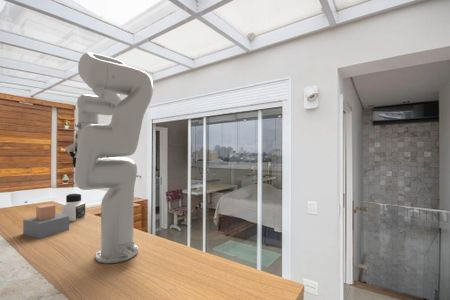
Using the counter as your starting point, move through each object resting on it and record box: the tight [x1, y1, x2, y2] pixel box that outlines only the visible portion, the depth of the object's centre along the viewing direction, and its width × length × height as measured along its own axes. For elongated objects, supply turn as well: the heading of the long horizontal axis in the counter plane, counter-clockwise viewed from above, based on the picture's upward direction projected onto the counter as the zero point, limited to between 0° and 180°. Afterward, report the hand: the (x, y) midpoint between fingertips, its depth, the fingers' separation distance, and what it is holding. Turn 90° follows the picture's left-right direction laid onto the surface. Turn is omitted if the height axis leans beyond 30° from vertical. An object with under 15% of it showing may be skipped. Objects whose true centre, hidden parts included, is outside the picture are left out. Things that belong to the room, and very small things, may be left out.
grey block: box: [22, 212, 70, 240], centre depth 94 cm, size 11×11×6 cm
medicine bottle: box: [60, 193, 86, 222], centre depth 111 cm, size 7×7×12 cm
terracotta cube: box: [35, 203, 56, 221], centre depth 94 cm, size 5×5×5 cm
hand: (88, 166), depth 100 cm, fingers open, 9 cm apart
